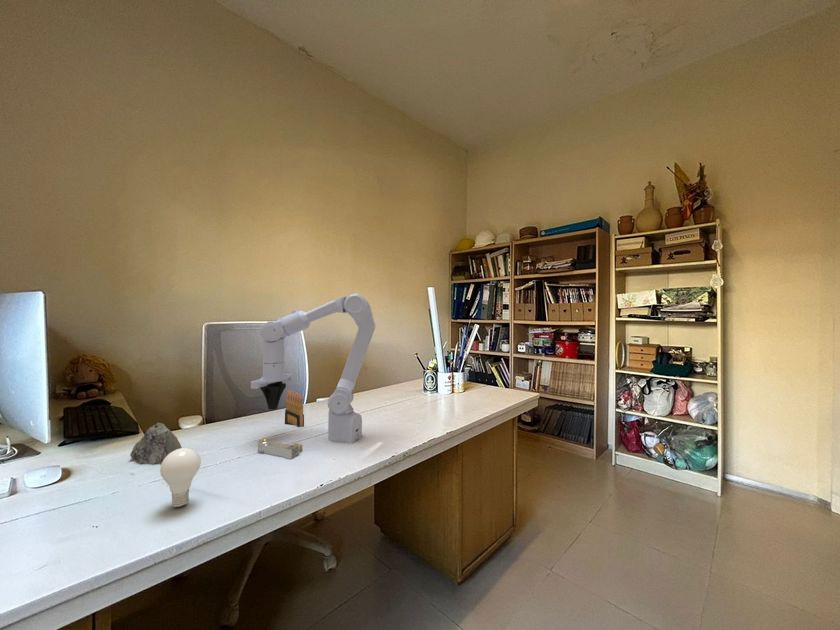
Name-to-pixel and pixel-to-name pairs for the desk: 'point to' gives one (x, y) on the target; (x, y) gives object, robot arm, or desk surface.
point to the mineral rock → (155, 445)
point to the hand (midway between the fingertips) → (272, 408)
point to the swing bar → (278, 449)
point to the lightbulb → (180, 473)
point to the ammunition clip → (294, 409)
